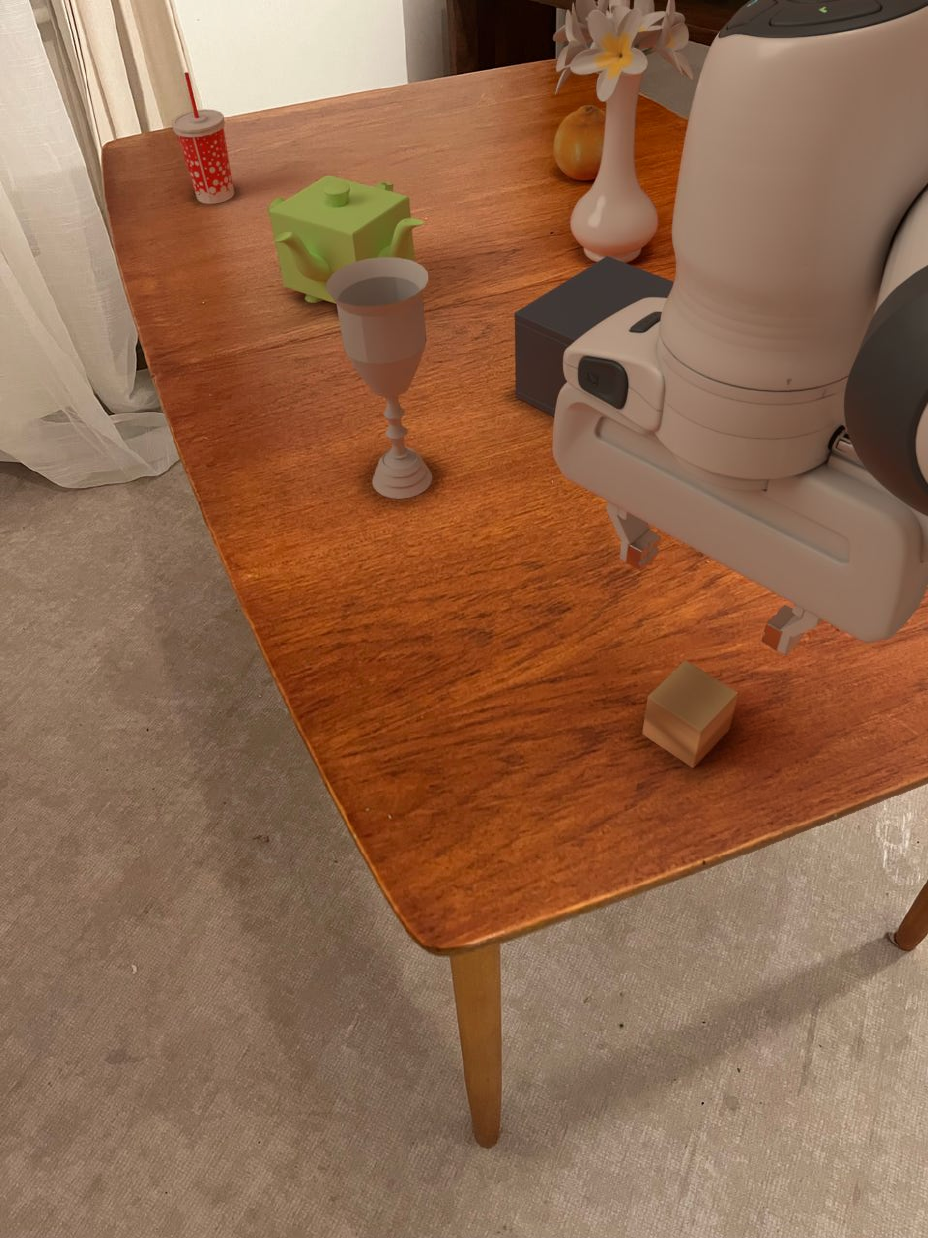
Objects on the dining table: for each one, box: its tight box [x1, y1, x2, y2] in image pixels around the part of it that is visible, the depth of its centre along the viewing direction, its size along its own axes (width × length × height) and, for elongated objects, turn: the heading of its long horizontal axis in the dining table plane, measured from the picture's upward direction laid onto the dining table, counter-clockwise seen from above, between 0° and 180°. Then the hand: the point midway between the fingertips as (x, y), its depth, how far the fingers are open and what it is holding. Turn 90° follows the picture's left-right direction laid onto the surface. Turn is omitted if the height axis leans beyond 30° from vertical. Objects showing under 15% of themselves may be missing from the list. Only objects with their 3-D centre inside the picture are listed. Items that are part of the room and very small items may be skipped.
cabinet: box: [514, 256, 674, 417], centre depth 86 cm, size 14×13×9 cm
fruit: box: [552, 104, 606, 181], centre depth 118 cm, size 8×8×8 cm
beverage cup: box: [171, 71, 235, 205], centre depth 116 cm, size 6×6×14 cm
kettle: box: [266, 174, 425, 305], centre depth 100 cm, size 15×14×11 cm
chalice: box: [327, 257, 433, 500], centre depth 76 cm, size 7×7×18 cm
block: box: [641, 659, 739, 769], centre depth 62 cm, size 4×4×4 cm
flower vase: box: [552, 0, 694, 264], centre depth 98 cm, size 13×18×25 cm
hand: (706, 599), depth 55 cm, fingers open, 8 cm apart
